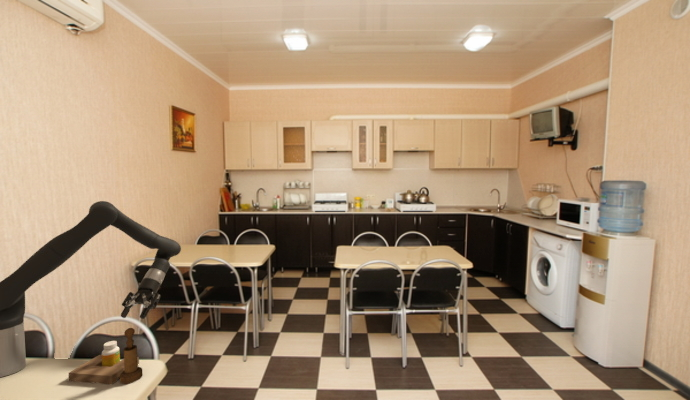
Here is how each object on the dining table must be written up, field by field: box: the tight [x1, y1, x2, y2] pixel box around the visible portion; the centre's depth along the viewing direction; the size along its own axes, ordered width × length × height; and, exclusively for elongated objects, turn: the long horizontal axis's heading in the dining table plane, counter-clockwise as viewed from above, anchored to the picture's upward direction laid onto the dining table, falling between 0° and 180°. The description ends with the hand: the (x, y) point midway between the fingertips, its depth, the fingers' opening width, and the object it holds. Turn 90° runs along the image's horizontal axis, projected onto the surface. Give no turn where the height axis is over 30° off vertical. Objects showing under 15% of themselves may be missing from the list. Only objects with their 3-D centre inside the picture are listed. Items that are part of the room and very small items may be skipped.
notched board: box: [68, 354, 140, 385], centre depth 115 cm, size 17×12×3 cm
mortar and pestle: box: [119, 327, 144, 385], centre depth 111 cm, size 7×6×18 cm
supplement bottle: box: [101, 340, 121, 367], centre depth 118 cm, size 5×5×10 cm
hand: (132, 317), depth 127 cm, fingers open, 8 cm apart
